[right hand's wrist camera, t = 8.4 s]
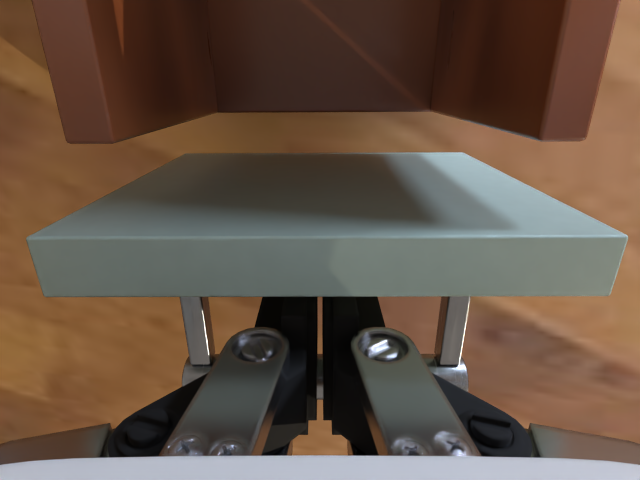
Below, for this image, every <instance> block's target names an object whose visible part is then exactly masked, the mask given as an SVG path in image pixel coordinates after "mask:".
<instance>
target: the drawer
mask: <svg viewBox="0 0 640 480" xmlns="http://www.w3.org/2000/svg"><path fill="white" fill-rule="evenodd" d="M620 1H621V0H32V4H33V8H34V12H35V16H36V20H37V24H38V28H39V32H40V36H41V40H42V44H43V48H44V53H45V57H46V61H47V65H48V69H49V73H50V77H51V81H52V85H53V89H54V93H55V97H56V101H57V106H58V110H59V114H60V118H61V122H62V126H63V130H64V134H65V138H66V141H67V143H70V144H113V143H116V142H119V141H123V140H126V139H129V138H133V137H136V136H140V135H143V134H146V133H150V132H153V131H157V130H160V129H163V128H167V127H170V126H173V125H177V124H180V123H184V122H187V121H190V120H194V119H197V118H201V117H204V116H207V115H211V114H214V113H241V112H435V113H439V114H442V115H446V116H450V117H453V118H457V119H461V120H464V121H468V122H472V123H475V124H479V125H483V126H486V127H490V128H494V129H497V130H501V131H505V132H508V133H512V134H516V135H519V136H523V137H527V138H530V139H534V140H538V141H582V140H585V139H586V137H587V134H588V130H589V126H590V122H591V118H592V114H593V110H594V106H595V102H596V98H597V94H598V90H599V86H600V82H601V78H602V74H603V70H604V65H605V61H606V57H607V53H608V49H609V45H610V41H611V37H612V33H613V29H614V25H615V21H616V17H617V13H618V9H619V5H620ZM627 240H628V236H627V235H626V234H624V233H622V232H620V231H618V230H616V229H614V228H612V227H610V226H608V225H606V224H604V223H602V222H600V221H598V220H596V219H594V218H592V217H590V216H588V215H586V214H584V213H582V212H580V211H578V210H576V209H574V208H572V207H570V206H568V205H566V204H564V203H562V202H560V201H558V200H556V199H554V198H552V197H550V196H548V195H546V194H544V193H542V192H540V191H538V190H536V189H534V188H532V187H530V186H528V185H526V184H524V183H522V182H520V181H518V180H516V179H514V178H512V177H510V176H508V175H506V174H504V173H502V172H501V171H499V170H497V169H495V168H493V167H491V166H489V165H487V164H485V163H483V162H481V161H479V160H477V159H475V158H473V157H471V156H469V155H467V154H465V153H463V152H438V153H199V154H184V155H182V156H180V157H178V158H176V159H174V160H172V161H170V162H169V163H167V164H165V165H163V166H161V167H159V168H157V169H155V170H153V171H151V172H150V173H148V174H146V175H144V176H142V177H140V178H138V179H136V180H134V181H133V182H131V183H129V184H127V185H125V186H123V187H121V188H119V189H117V190H115V191H114V192H112V193H110V194H108V195H106V196H104V197H102V198H100V199H98V200H96V201H95V202H93V203H91V204H89V205H87V206H85V207H83V208H81V209H79V210H77V211H76V212H74V213H72V214H70V215H68V216H66V217H64V218H62V219H60V220H58V221H57V222H55V223H53V224H51V225H49V226H47V227H45V228H43V229H41V230H39V231H38V232H36V233H34V234H32V235H30V236H28V237H27V238H26V241H27V244H28V247H29V250H30V254H31V257H32V260H33V263H34V266H35V270H36V273H37V276H38V279H39V282H40V286H41V289H42V292H43V295H44V296H45V297H180V302H181V308H182V314H183V320H184V327H185V333H186V339H187V345H188V351H189V357H188V358H187V360H186V363H185V366H184V370H183V375H182V387H183V386H185V385H186V384H188V383H190V382H192V381H194V380H196V379H197V378H199V377H201V376H203V375H205V374H207V373H208V372H209V371H210V369H211V368H212V366H213V364H214V363H215V361H216V359H217V358H218V356H219V354H215V347H214V339H213V331H212V324H211V316H210V308H209V301H208V297H351V296H442V297H441V304H440V312H439V320H438V328H437V335H436V343H435V351H434V352H435V354H421V356H422V358H423V359H424V361H425V363H426V364H427V366H428V368H429V369H430V371H431V372H432V373H433V374H435V375H437V376H439V377H441V378H443V379H444V380H446V381H448V382H450V383H452V384H454V385H455V386H457V387H459V388H461V389H463V390H465V391H466V392H468V373H467V369H466V365H465V362H464V360H463V358H462V357H461V353H462V347H463V341H464V335H465V329H466V322H467V316H468V310H469V304H470V298H471V296H609V295H610V294H611V291H612V288H613V285H614V281H615V278H616V275H617V272H618V269H619V266H620V262H621V259H622V256H623V253H624V250H625V247H626V243H627ZM317 400H323V354H317Z"/></svg>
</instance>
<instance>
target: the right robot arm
mask: <svg viewBox="0 0 640 480" xmlns="http://www.w3.org/2000/svg"><path fill="white" fill-rule="evenodd" d="M308 420H317V297H263V298H262V301H261V305H260V309H259V313H258V316H257V320H256V324H255V327H254V328H249V329H246V330H243V331H240V332H238V333H237V334H235V335H234V336H232V337H231V338H230V339H229V340H228V342H227V343H226V344H225V346H224V348H223V349H222V351H221V353H220V354H219V356H218V358H217V359H216V361H215V363H214V364H213V366H212V368H211V369H210V371H209V372H208V373H207V374H205V375H203V376H201V377H199V378H197V379H196V380H194V381H192V382H190V383H188V384H186V385H185V386H183V387H181V388H179V389H177V390H175V391H174V392H172V393H170V394H168V395H166V396H164V397H163V398H161V399H159V400H157V401H155V402H153V403H152V404H150V405H148V406H146V407H144V408H142V409H141V410H139V411H137V412H135V413H134V414H132V415H131V416H129V417H128V418H126V419H125V420H123V421H122V422H121V423H120V425H119V426H118V427H117V428H116V429H112V428H111V425H110V423H108V424H102V425H96V426H91V427H85V428H80V429H74V430H68V431H63V432H57V433H52V434H46V435H40V436H35V437H29V438H24V439H18V440H13V441H9V442H5V443H2V444H0V480H640V444H638V443H635V442H631V441H627V440H622V439H616V438H611V437H605V436H600V435H594V434H588V433H583V432H577V431H572V430H566V429H560V428H555V427H549V426H544V425H538V424H532V423H530V425H529V428H528V429H524V428H523V427H522V426H521V424H520V423H519V422H518V421H517V420H515V419H514V418H512V417H511V416H509V415H508V414H506V413H505V412H503V411H501V410H499V409H498V408H496V407H494V406H492V405H490V404H488V403H487V402H485V401H483V400H481V399H479V398H477V397H476V396H474V395H472V394H470V393H468V392H466V391H465V390H463V389H461V388H459V387H457V386H455V385H454V384H452V383H450V382H448V381H446V380H444V379H443V378H441V377H439V376H437V375H435V374H433V373H432V372H431V371H430V369H429V368H428V366H427V364H426V363H425V361H424V359H423V358H422V356H421V354H420V353H419V351H418V349H417V348H416V346H415V344H414V343H413V342H412V340H411V339H410V338H409V337H408V336H406V335H405V334H403V333H402V332H400V331H397V330H394V329H391V328H386V327H385V324H384V320H383V316H382V313H381V309H380V305H379V301H378V298H377V296H351V297H323V420H332V435H342V436H344V437H345V438H346V439H347V449H348V456H324V455H316V456H292V449H293V439H294V438H295V437H296V436H298V435H308Z"/></svg>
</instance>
